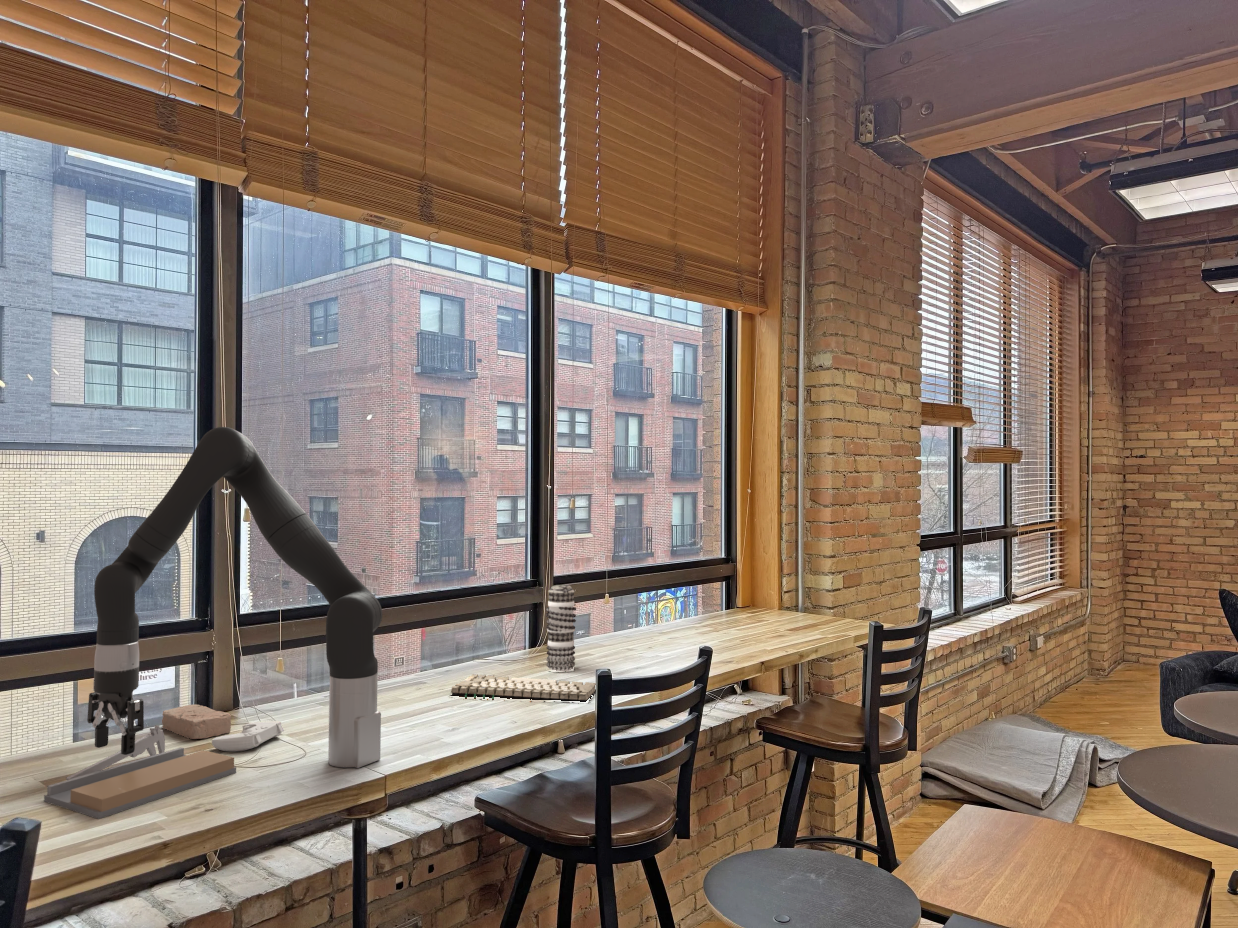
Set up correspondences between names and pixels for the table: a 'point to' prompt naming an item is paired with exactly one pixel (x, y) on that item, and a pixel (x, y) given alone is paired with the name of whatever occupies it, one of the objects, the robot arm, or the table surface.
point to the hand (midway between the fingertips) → (114, 749)
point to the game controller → (248, 736)
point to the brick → (196, 721)
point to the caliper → (140, 747)
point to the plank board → (138, 782)
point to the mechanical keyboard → (522, 688)
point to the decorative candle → (561, 628)
